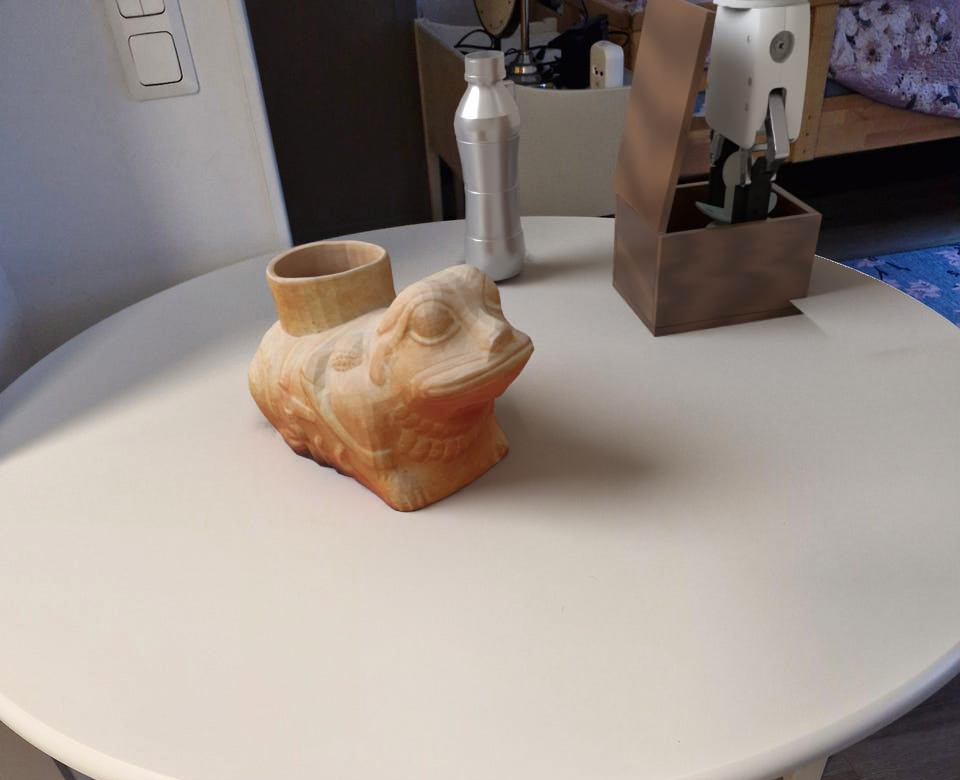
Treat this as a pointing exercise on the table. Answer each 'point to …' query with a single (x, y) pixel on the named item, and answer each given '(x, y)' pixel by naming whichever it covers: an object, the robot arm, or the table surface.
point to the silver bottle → (490, 167)
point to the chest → (713, 263)
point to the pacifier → (729, 193)
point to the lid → (662, 106)
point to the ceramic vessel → (386, 370)
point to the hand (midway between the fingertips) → (735, 218)
